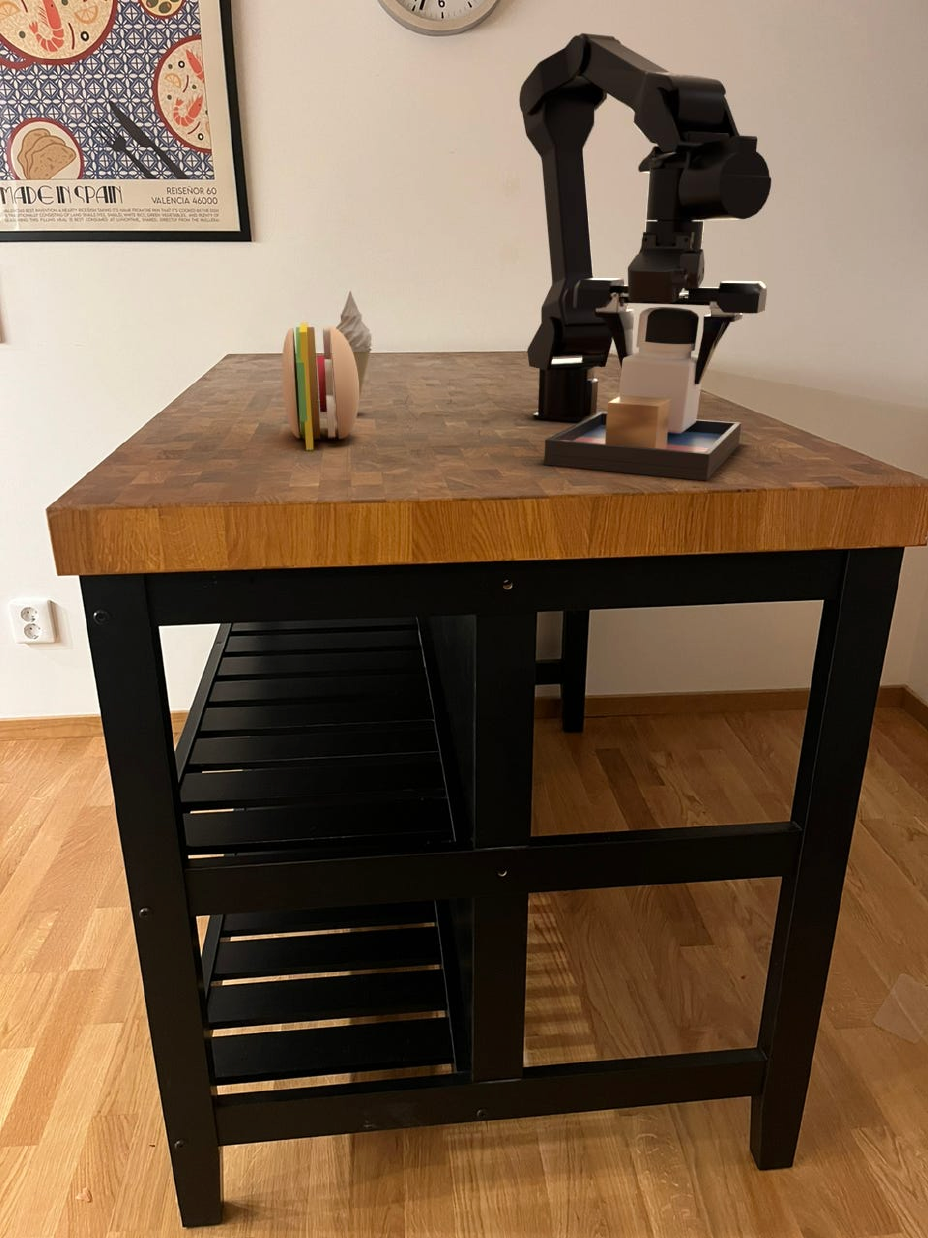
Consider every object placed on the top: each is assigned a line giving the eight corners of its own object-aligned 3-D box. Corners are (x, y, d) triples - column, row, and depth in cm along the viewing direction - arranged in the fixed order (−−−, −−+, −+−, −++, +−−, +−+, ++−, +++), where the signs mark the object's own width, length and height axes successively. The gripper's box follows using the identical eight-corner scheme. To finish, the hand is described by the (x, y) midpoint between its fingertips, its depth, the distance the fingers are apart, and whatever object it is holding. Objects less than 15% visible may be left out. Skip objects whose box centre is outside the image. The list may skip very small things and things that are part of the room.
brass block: (604, 453, 91) (607, 402, 90) (618, 444, 96) (621, 395, 94) (654, 458, 89) (658, 405, 88) (666, 448, 94) (670, 398, 92)
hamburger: (363, 448, 99) (359, 331, 95) (284, 450, 98) (276, 332, 94) (358, 427, 110) (354, 322, 106) (287, 429, 109) (280, 322, 105)
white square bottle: (696, 423, 102) (711, 308, 97) (681, 434, 96) (697, 312, 91) (633, 416, 104) (645, 303, 100) (615, 426, 98) (626, 307, 94)
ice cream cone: (367, 418, 116) (362, 291, 110) (328, 417, 117) (322, 291, 111) (378, 412, 121) (375, 290, 115) (341, 410, 122) (336, 289, 116)
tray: (544, 464, 92) (545, 439, 91) (597, 433, 107) (598, 411, 106) (706, 480, 86) (709, 454, 85) (738, 445, 101) (741, 422, 100)
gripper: (559, 219, 89) (552, 385, 95) (759, 219, 82) (738, 398, 88) (593, 222, 98) (585, 373, 104) (776, 221, 91) (756, 383, 97)
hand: (661, 381), depth 98 cm, fingers closed on white square bottle, 7 cm apart
